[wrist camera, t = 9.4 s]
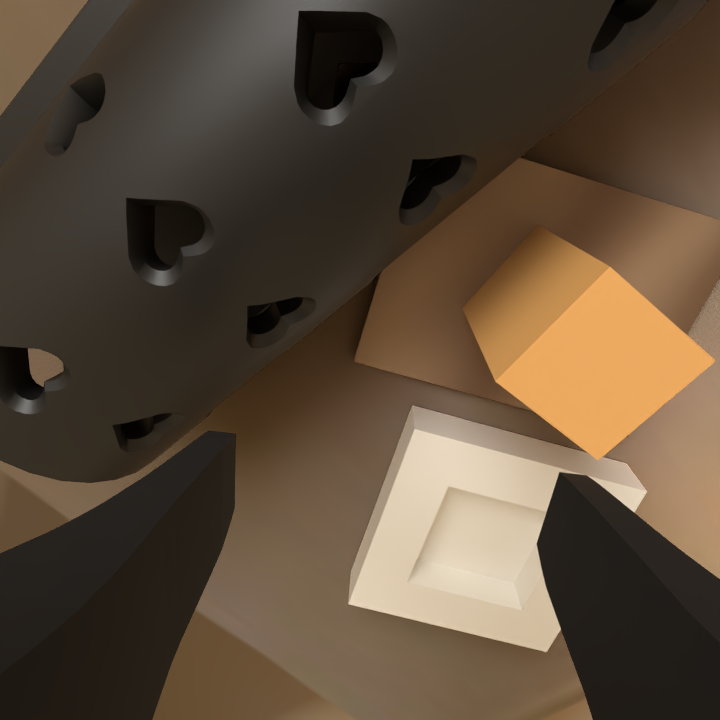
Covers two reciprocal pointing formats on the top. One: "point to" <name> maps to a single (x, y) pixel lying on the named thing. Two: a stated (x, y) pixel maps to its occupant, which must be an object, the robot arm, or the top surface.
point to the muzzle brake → (251, 187)
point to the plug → (579, 342)
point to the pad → (498, 241)
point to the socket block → (470, 528)
